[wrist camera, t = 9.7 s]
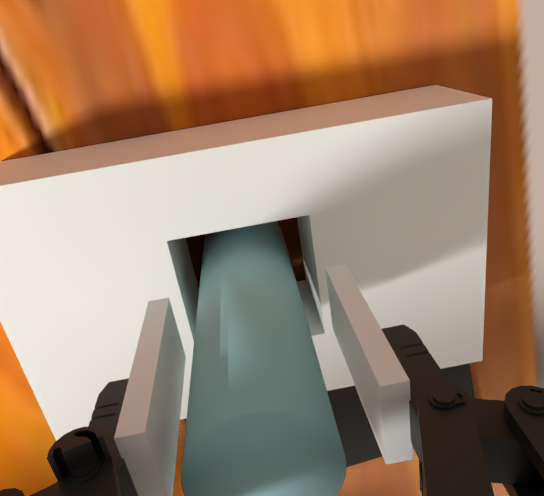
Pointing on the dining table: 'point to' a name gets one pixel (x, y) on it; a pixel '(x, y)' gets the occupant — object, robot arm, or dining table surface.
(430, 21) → the dining table surface
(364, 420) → the phone
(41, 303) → the socket block
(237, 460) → the teal peg
